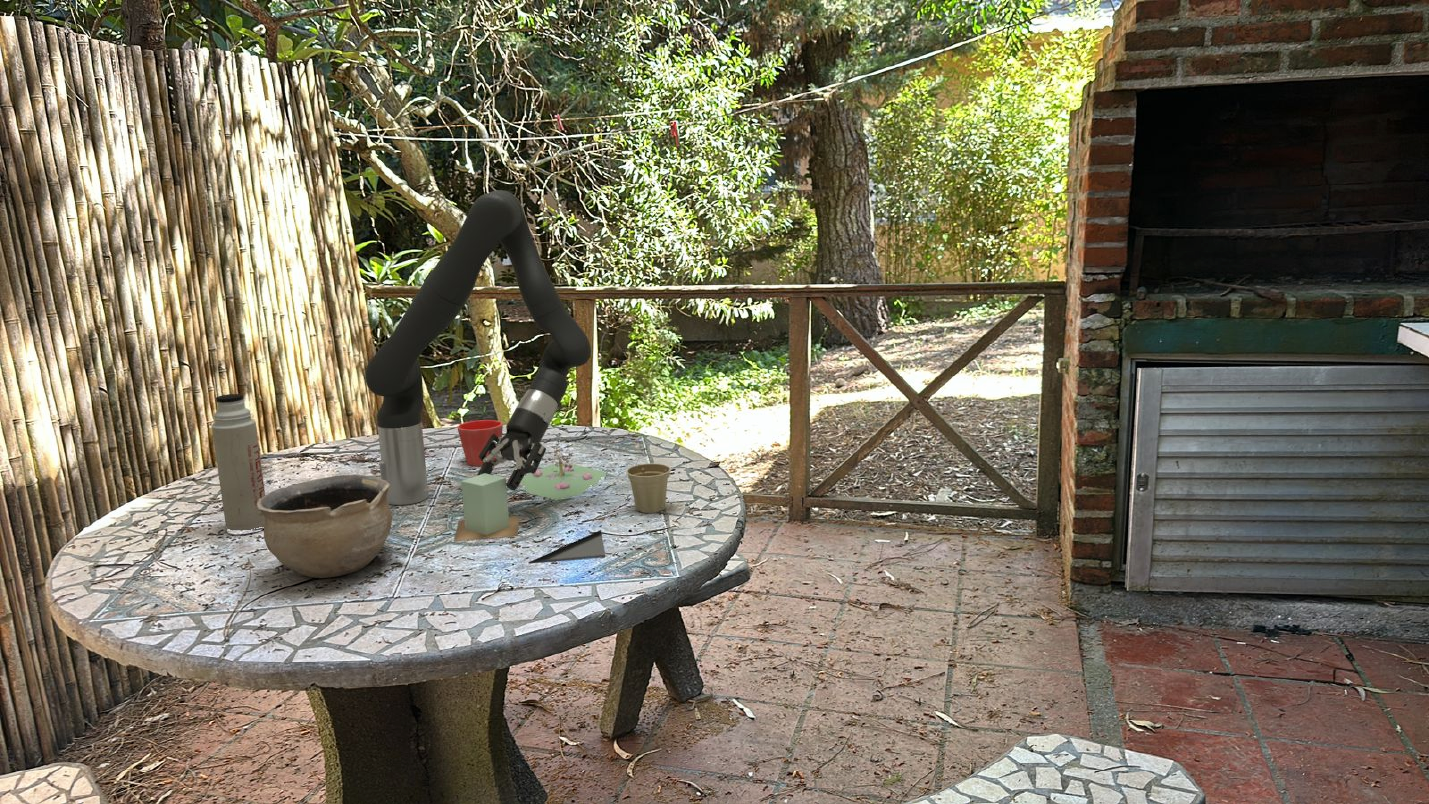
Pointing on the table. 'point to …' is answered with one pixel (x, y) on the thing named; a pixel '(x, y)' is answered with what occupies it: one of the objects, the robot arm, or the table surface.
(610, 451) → the table surface
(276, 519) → the ceramic bowl
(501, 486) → the sage green tall block
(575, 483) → the plant
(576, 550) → the mat
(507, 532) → the peg stand
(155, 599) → the table surface
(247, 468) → the thermos bottle
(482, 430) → the flower pot
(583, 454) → the table surface
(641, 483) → the flower pot
